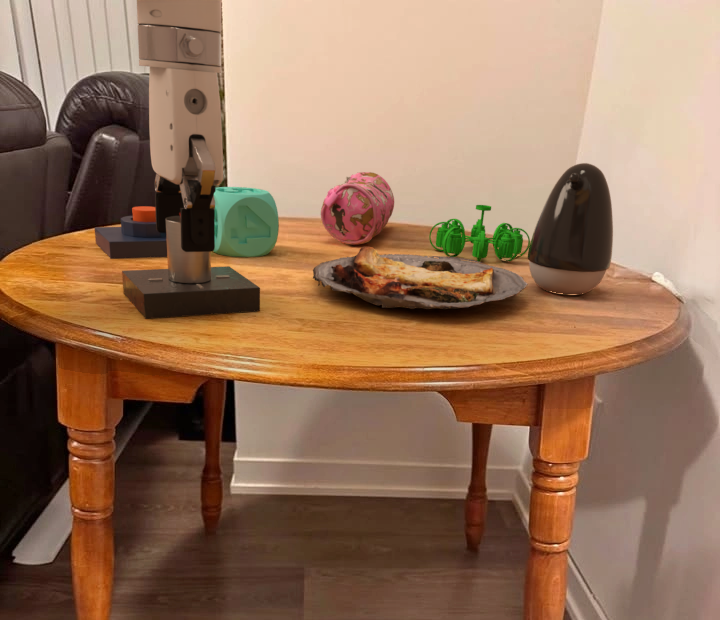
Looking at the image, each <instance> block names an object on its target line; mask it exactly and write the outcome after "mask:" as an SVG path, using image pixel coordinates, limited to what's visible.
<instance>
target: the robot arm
mask: <svg viewBox="0 0 720 620" xmlns="http://www.w3.org/2000/svg"><path fill="white" fill-rule="evenodd" d="M136 12H137V15H136V17H137V44H138V45H137V46H138V65H139V66H140V67H149V74H148V75H149V78H148V79H149V82H148V83H149V84H148V115H149V116H148V119H149V120H148V125H149V150H150V161H151V167H152V170H153V171H154V173H155V179H154V190H155V192H154V205H155V206H154V207H155V210H156V229H157V231H158V232H160V233H166V218H167V217H171V216H180V217H181V248H182V250H183V251H185V252H211V253H212V252H213V250H214V249H215V199H214V192H215V191H216V188H217V187H216V186H220V184H222V182H223V180H224V154H223V152H224V151H223V128H222V127H223V126H222V110H221V109H222V108H221V97H220V88H219V81H218V74H222V0H136ZM190 188H192V189H190Z"/></svg>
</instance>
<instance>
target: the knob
mask: <svg viewBox="0 0 720 620" xmlns="http://www.w3.org/2000/svg"><path fill="white" fill-rule="evenodd" d="M166 238H167V257H166V258H167V269H168V278H169V279H170V280H171V281H174V282H179V283H203V282H207V281H210V280H211V267H212V261H211V260H212V259H211V257H212V256H211V255H212V254H211V253H212V251H211V252H185V251H183V250H182V248H181V217H180V216H171V217H167V218H166Z"/></svg>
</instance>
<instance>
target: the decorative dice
mask: <svg viewBox="0 0 720 620" xmlns="http://www.w3.org/2000/svg"><path fill="white" fill-rule="evenodd" d="M215 188H216V191H215V192H214V199H215V249H214V250H213V251H212V252H213V253H215V254H217V255H221V256H224V257H233V258H258V257H264V256H267V255H268V254H269V253H270V252H271V251H272V250H273V249H274V248H275V247H276V244H277V241H278V237H279V229H280V224H279V223H280V222H279V220H280V219H279V212H278V207H277V203H276V201H275V199H274V196H273V195H272V193H270V191H269V190H266V189H263V188H256V187H255V188H254V187H247V186H246V187H245V186H243V187H242V186H220V187H219V186H218V187H215Z"/></svg>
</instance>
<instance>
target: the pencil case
mask: <svg viewBox="0 0 720 620" xmlns="http://www.w3.org/2000/svg"><path fill="white" fill-rule="evenodd" d="M345 179H346V180H345V181H344V183H342V184H337V185H335V186H334V187H331V188H330V189H329V190H328V191H327V193H326V196H325V198H324V199H323V202H322V206H321V208H320V209H321V210H320V219H321V222H322V225H323V227H324V229H325V230H326V232H327V233H328V234H329V235H330V236H331V237H332V238H334V239H335V240H336V241H338V242H340V243H342V244H344V245H350V246H352V245H353V246H355V245H356V246H357V245H362V244H366V243H369V242H370V241H371V240H372V239H373V238H375V237H376V236H378V235H379V234H380V233H381V232H382V231H383V230H384V229H385V227H386V226H387V224H388V223H389V220H390V219H391V217H392V215H393V212H394V208H395V197H394V193H393V190H392V188H391V186H390V185H389V183H388V182H387V180H386V179H385V178H384V177H383V176H382V175H379V174H378V173H375V172H371V171H361V172H357V173H355V174H350V176H346V177H345Z"/></svg>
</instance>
